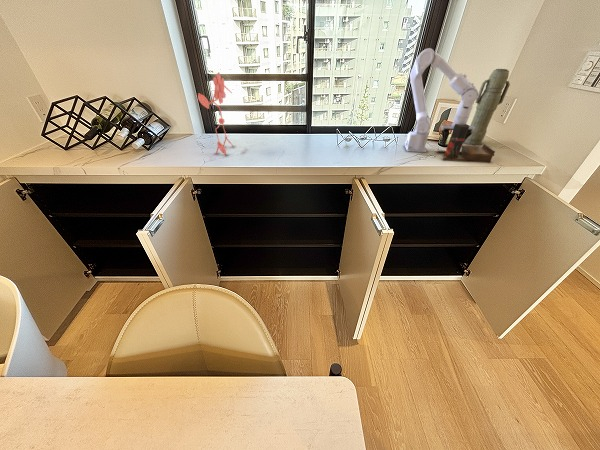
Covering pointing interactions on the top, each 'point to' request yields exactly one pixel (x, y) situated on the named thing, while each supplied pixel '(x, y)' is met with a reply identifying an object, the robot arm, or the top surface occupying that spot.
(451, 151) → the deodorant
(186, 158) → the top surface
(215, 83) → the figurine
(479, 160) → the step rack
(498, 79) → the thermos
